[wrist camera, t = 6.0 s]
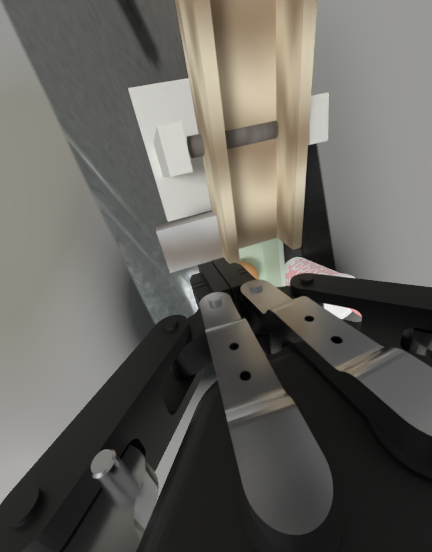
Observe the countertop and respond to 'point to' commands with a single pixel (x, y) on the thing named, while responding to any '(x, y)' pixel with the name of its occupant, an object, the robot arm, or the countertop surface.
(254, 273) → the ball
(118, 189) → the countertop surface
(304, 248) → the countertop surface
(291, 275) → the beverage cup
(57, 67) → the countertop surface
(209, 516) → the robot arm
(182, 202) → the pivot stand
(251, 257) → the cup
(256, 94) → the tipping chute
